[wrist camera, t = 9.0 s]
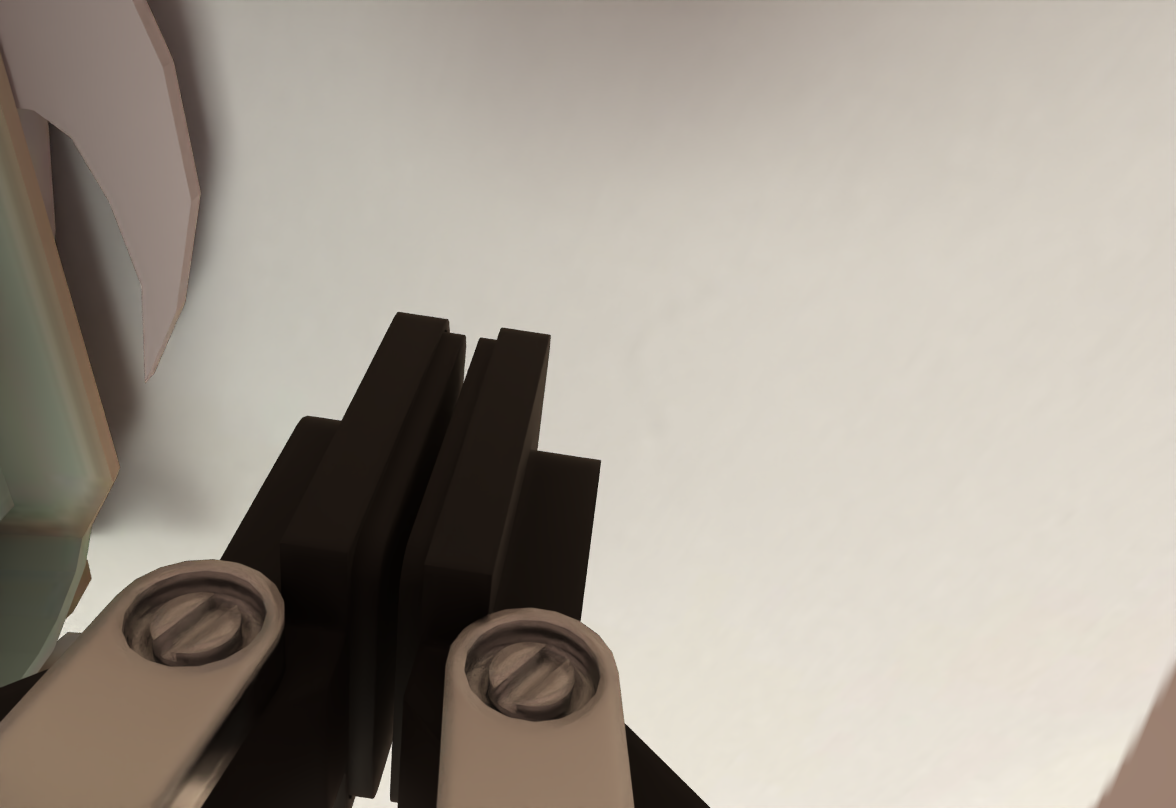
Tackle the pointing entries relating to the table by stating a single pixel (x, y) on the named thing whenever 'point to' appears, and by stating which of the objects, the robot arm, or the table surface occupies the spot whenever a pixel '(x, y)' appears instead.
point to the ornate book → (41, 295)
